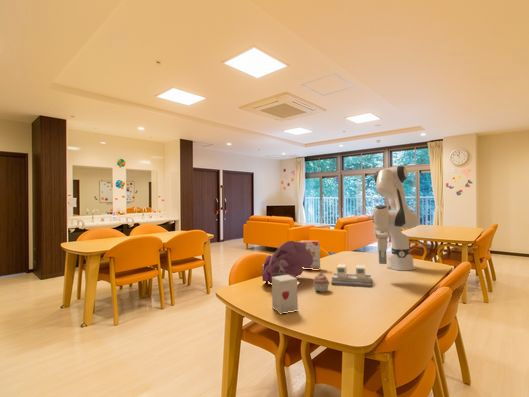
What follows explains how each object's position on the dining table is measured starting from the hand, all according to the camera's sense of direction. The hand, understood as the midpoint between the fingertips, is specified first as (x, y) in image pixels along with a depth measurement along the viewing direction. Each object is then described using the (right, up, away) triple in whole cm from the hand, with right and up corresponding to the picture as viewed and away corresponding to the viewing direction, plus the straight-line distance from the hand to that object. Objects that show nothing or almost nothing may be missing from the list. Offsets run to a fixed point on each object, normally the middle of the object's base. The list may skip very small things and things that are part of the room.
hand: (382, 255), depth 171 cm
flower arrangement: (-58, -18, +5) cm, 61 cm away
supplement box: (-61, -17, -39) cm, 75 cm away
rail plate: (-18, -16, +3) cm, 24 cm away
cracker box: (-37, -18, +37) cm, 55 cm away
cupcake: (-39, -17, -13) cm, 45 cm away
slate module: (0, -4, 0) cm, 4 cm away
